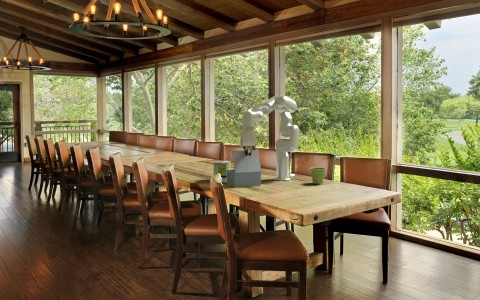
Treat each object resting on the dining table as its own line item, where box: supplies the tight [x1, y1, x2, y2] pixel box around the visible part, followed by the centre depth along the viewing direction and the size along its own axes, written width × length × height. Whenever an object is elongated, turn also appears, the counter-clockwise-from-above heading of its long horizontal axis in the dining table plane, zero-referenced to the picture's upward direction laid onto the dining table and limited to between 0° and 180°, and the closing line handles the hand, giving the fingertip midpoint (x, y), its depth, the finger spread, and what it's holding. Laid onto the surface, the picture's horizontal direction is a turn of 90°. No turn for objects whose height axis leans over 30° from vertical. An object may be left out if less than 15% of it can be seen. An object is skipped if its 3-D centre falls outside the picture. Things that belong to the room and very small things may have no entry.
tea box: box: [212, 160, 232, 183], centre depth 318 cm, size 15×10×15 cm
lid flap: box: [231, 146, 262, 173], centre depth 293 cm, size 20×16×8 cm
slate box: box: [226, 169, 262, 188], centre depth 302 cm, size 20×16×10 cm
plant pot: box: [309, 166, 327, 185], centre depth 309 cm, size 12×12×11 cm
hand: (248, 155), depth 294 cm, fingers closed
